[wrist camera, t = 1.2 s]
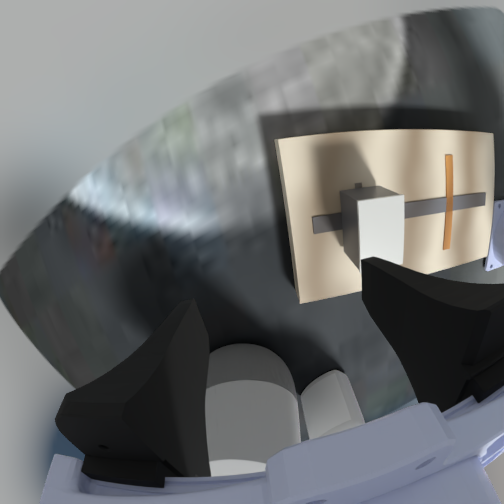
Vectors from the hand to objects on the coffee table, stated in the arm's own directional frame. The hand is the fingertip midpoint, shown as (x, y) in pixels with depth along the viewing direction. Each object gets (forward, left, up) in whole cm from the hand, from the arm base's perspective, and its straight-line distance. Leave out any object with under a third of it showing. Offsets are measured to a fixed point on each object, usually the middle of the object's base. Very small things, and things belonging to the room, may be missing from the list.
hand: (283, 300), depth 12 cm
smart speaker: (+4, +14, -10) cm, 18 cm away
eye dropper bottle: (-4, +19, -10) cm, 22 cm away
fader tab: (-7, 0, -8) cm, 10 cm away
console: (-12, 0, -10) cm, 15 cm away
